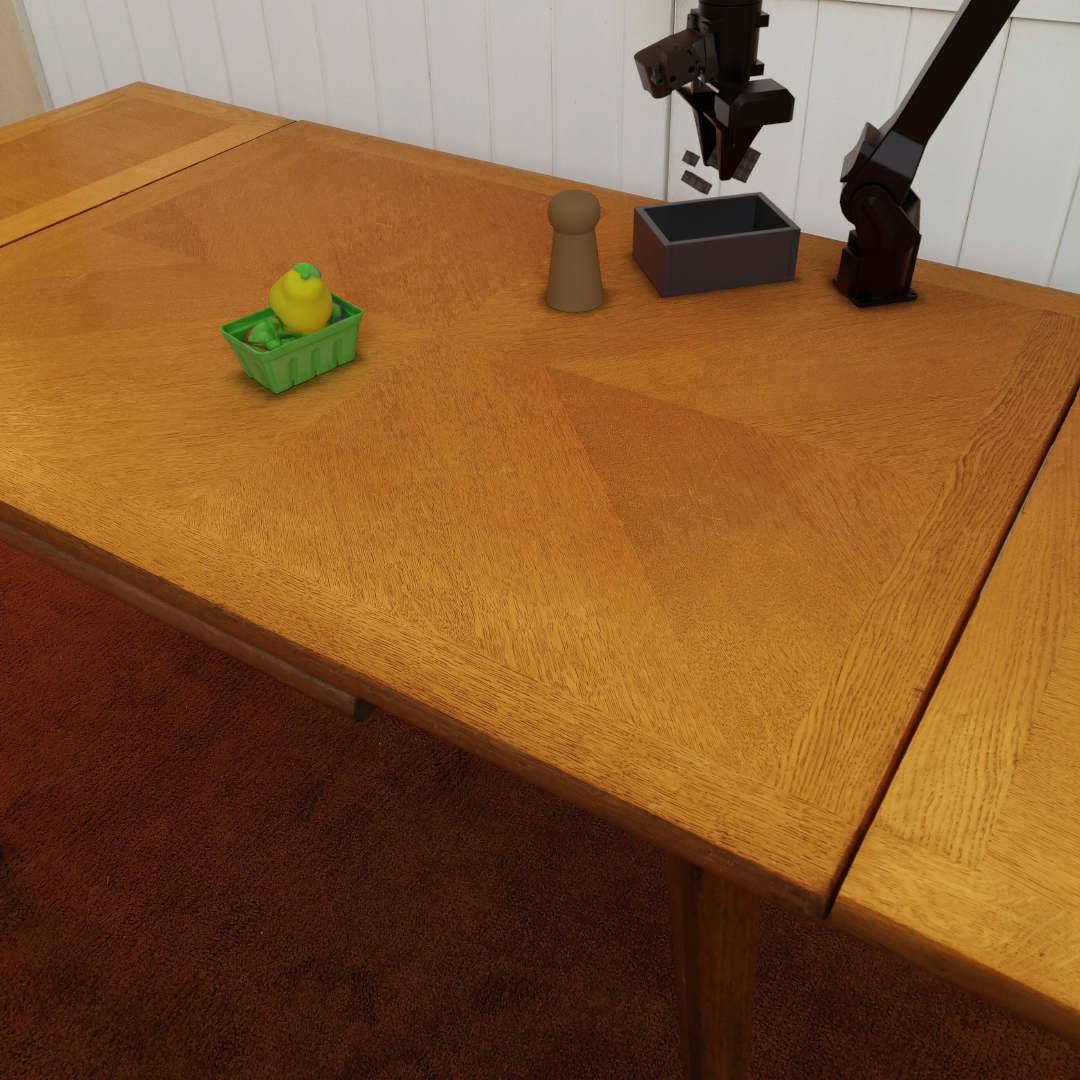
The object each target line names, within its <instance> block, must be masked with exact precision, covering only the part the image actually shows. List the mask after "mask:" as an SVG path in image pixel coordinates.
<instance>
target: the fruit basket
mask: <svg viewBox="0 0 1080 1080" xmlns="http://www.w3.org/2000/svg"><path fill="white" fill-rule="evenodd" d="M322 276H323V275H322V272H321V270H320V269H319V268H318V266H317V265H316V264H313V263H309V262H307V261H301V262H297V263H296V264H293V266H292V268H291V269H290V270H288V271H287V272H286V273H285V274H284V275H282V276H281V277H279V278H278V280H277V281H276V282H275V283H274V284H273V285H271V288H270V290H269V293H268V305H269V306H266V307H264V308H261V309H259V310H256V311H254V312H252V313H249V314H247V315H243V316H241V317H239V318H237V319H234V320H231V321H229V322H226V323H223V324H221V326H220V327H219V332H220V334H221V335H222V336H223V338H224V340H225V341H227V342H228V344H229V346H230V348H231V349H232V352H233V353H234V355H235V356H236V358H237V360H238V362H239V363H240V365H241V367H242V369H243V370H244V372H245V374H246V375H247V376H248V377H249V378H253V379H254V381H255V382H257V383H259V384H260V385H261V386H263V387H264V388H266V389H268V390H269V389H270V390H271V392H272V393H274V394H275V395H276V394H280V393H282V392H285V391H286V390H289V389H291V388H292V387H294V386H296V385H300V384H302V383H305V382H307V381H309V380H311V379H313V378H315V376H319V375H323V374H324V373H327V372H330V371H331V370H333V369H335V368H337V366H342V365H345V364H347V363H349V362H351V361H353V360H355V358H356V351H357V346H358V345H357V344H358V339H359V338H358V337H359V332H360V323H361V322H362V319H363V313H364V310H363V309H362V308H361V307H359V306H356V305H355V304H353V303H352V302H350V301H348V300H346V299H344V298H343V297H341V296H339V295H337V294H335V293H334V292H332V291H331V290H330V288H329V285H327V283H326V282H325V281H324V280H323V278H322Z"/></svg>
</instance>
